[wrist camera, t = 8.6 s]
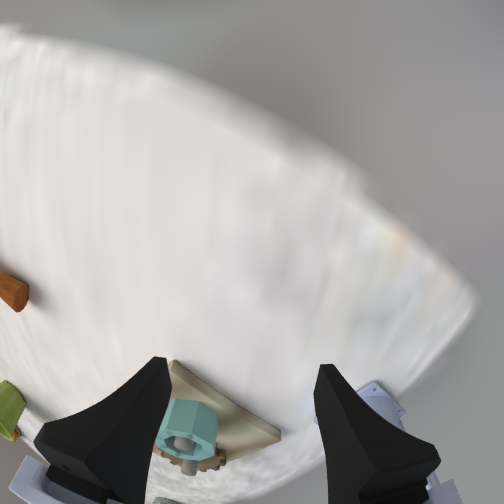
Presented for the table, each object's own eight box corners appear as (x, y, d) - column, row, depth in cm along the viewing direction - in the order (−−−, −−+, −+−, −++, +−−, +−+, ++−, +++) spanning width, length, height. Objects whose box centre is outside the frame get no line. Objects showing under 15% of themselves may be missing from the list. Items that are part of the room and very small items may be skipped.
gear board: (280, 430, 26) (282, 469, 21) (194, 464, 30) (188, 493, 25) (173, 359, 23) (157, 402, 18) (105, 410, 27) (89, 440, 22)
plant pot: (-4, 381, 29) (-26, 407, 21) (-1, 365, 27) (-27, 393, 19) (29, 415, 31) (10, 443, 23) (37, 404, 29) (14, 437, 21)
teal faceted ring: (229, 420, 24) (225, 451, 20) (195, 436, 25) (189, 463, 21) (185, 392, 23) (176, 423, 19) (154, 410, 24) (144, 438, 20)
